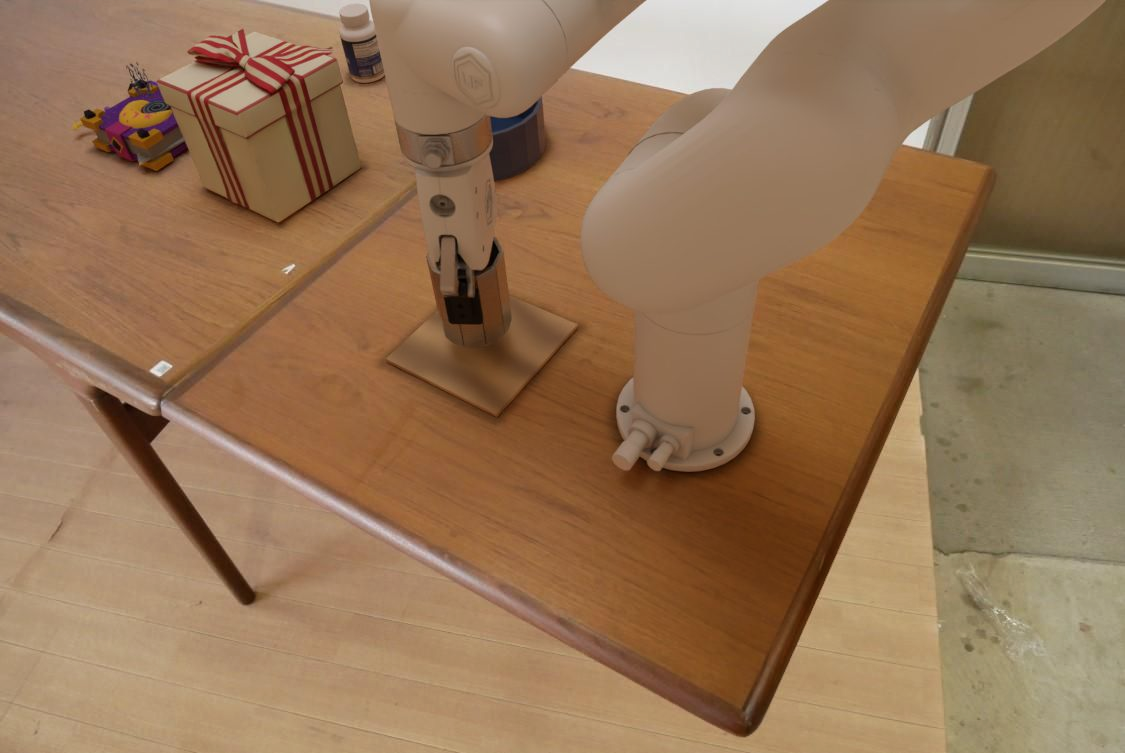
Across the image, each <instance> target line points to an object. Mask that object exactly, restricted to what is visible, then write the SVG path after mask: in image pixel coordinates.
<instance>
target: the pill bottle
mask: <svg viewBox="0 0 1125 753" xmlns="http://www.w3.org/2000/svg"><path fill="white" fill-rule="evenodd" d="M338 14H339V18H340V22H341V23H342V24H341V26H340V27H339V30H338V33H339V38H340V42H341V46H342V49H343V54H344V57H345V61H346V65H347V67H348V72H349V76H350V78H351V79H352V80H353V81H354V82H356V83H361V84H367V83H373V82H376V81H378V80H381V79H382V78H384V77H385V73H384V69H383V64H382V59H381V55H380V50H379V46H378V41H377V37H376V32H375V28H374V23H373V20H372V19H370V13H369V9H368V6H367V5H365V4H364V3H351V4H350V3H349V4H347V5H344V6H342V7H341V8H340V9H339V11H338Z"/></svg>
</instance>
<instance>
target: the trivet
mask: <svg viewBox="0 0 1125 753" xmlns="http://www.w3.org/2000/svg"><path fill="white" fill-rule="evenodd" d="M509 300H510V308H511V316H512V320H511V323H510V327H509V329H508V331H507V333H506V334H505V335H504V336H503V337H502V338H501V339H500V340H498V341H497V342H495V343H493V344H491V345H488V346H485V347H479V348H466V347H462V346H458V345H456V344H454V343H452V342H451V341H450V340H449V339H447V338H446V336H445V334H444V332H443V329H442V326H441V323H440V319H439V314H438V309H437V310H436V311H435V312H434V313H432V314H431V316H429V318H427V319H426V320H425V321H424V322H423V323H422V324H421V325H420V326H419V327H418V328H416V329H415V330H414V331H413V333H411V334H410V335H409V336H408V337H407V338H406V339H405V340H404V341H403V342H401V344H400V345H399V346H397V348H395V349H394V350H393V351H392V352H391V353H390V354H389V355H388V356H387V357H386V358H385V361H386V363H388V364H389V365H391V366H393V367H395V368H398V369H400V370H402V371H404V372H406V373H408V374H410V375H412V376H414V377H416V378H418V379H420V380H422V381H424V382H426V383H428V384H430V385H432V386H433V387H436V388H438V389H439V390H442V391H444V392H446V393H448V394H450V395H452V396H454V397H455V398H458V399H459V400H462V401H463V402H466V403H468V404H470V405H472V406H473V407H475V408H478V409H480V410H482V411H484V412H486V413H487V414H489V415H492V416H494V417H495V418H498V417H499V416H500V415H501V414H502V413H503V412H504V410H505V409H506V408H507V407H508V406H509V405H510V404H511V402H512V401H513V400H514V399H515V398H516V397H517V396H518V395H519V394H520V393H521V392H522V391H523V389H525V387H526V386H527V385H528V384H529V382H531V381H532V379H534V377H535V376H536V375H537V374H538V372H539V371H541V369H542V368H544V366H545V365H546V364H547V362H548V361H550V359H551V358H552V357H553V356H554V355H555V354H556V353H557V351H559V349H560V348H561V347H562V346H563V345H564V344H565V343H566V341H567V340H568V339H569V338H570V337H571V336H572V335H573V334H574V332H576V330H577V329H578V328H579V325H578V323H576V322H573V321H571V320H569V319H567V318H565V317H562V316H559V315H557V314H554V313H553V312H549V310H548V311H547V310H545V309H543V308H541V307H538V306H536V305H533V304H531V303H528V302H527V301H524V300H522V299H520V298H517V297H515V296H512V295H510V294H509Z"/></svg>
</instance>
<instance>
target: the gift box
mask: <svg viewBox="0 0 1125 753" xmlns="http://www.w3.org/2000/svg"><path fill="white" fill-rule="evenodd" d="M333 52H334V49H333V46H329V47H327V48H322V47H321V48H320V47H316V46H311V45H302V46H301V45H297V44H294V43H292V42H289V41H285V40H283V39H279V38H276V37H273V36H270V35H267V34H264V33H262V32H258V31H252V32H250V33H248V34H245V29H244V28H240V29H239V30H238V31H236V32H235V33H233V34H231V35H229V36H227V37H225V36H221V35H216V34H215V35H208V36H207V37H205V38H204V39H203V40H201V41H200V42H198V43H197V44H195V45H194V46H192V47H191V48H189V49H188V50H187V51H186V53H187V54H188V55H190V56H194V57H193V58H194V59H195V60H194V61H192V62H190V63H188V64H186V65H184V66H182V67H180V68H178V69H176V70H175V71H172V72H171V73H168V74H167V75H164V76H163V77H160V78H158V79H157V80H156V82H157V84H158V87H159V89H160V92H161V94H162V96H163V99H164V101H165V103H166V105H168V106H170V107H171V109H172V111H173V114H174V116H175V119H176V121H177V123H178V126H179V128H180V130H181V133H182V135H183V138H184V140H185V142H186V145H187V147H188V148H187V149H188V152H189V154H190V156H191V159H192V161H193V163H194V166H195V168H196V171H197V173H198V176H199V178H200V180H201V183H202V185H203V188H204V189H206V190H208V191H210V192H211V193H214V194H216V195H219V196H221V197H223V198H225V199H226V200H228V202H231V203H234V204H237V205H239V206H242V207H243V208H245V209H247V210H250V211H252V212H253V213H257V214H259V215H261V216H262V217H265V218H266V219H269V220H271V221H273V222H275V223H281V222H282V221H284V220H285V219H287V218H288V217H290V216H292V215H293V214H295V213H296V212H297V211H299V210H301V209H302V208H304V207H305V206H307V205H308V204H310V203H311V202H313V201H314V200H316V199H317V198H318V197H321V195H324V194H325V193H326V192H328V191H330V190H331V189H332V188H333V187H336V185H338V184H339V183H341V182H342V181H344V180H345V179H347V178H348V177H350V176H351V175H353V174H354V173H356V172H357V171H358V170H360V169H361V168H362V164H361V159H360V156H359V152H358V148H357V144H356V141H355V137H354V133H353V128H352V125H351V121H350V117H349V113H348V110H347V105H346V102H345V96H344V94H343V89H342V86H341V85H343V84H344V80H343V76H342V71H341V69H340V64H339V61H338V59H337V58H336V57H334V56H330V55H332V54H333Z"/></svg>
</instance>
